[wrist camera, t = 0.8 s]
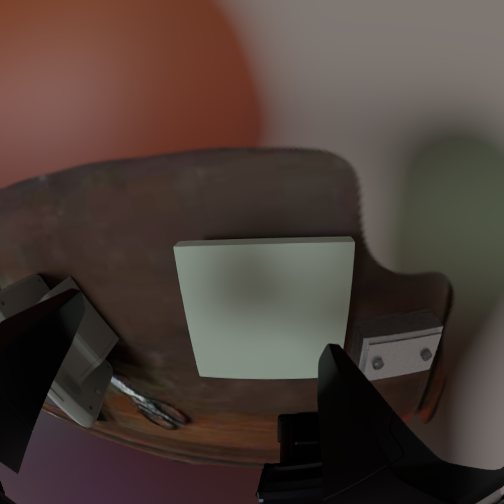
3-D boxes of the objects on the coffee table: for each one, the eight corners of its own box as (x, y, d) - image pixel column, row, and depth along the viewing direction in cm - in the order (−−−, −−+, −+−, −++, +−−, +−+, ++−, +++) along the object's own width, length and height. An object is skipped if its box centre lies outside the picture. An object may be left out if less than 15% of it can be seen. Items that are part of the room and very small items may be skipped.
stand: (332, 347, 25) (338, 376, 22) (208, 348, 26) (199, 376, 23) (342, 225, 21) (355, 241, 17) (190, 230, 22) (173, 246, 19)
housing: (418, 346, 25) (433, 373, 21) (349, 356, 26) (358, 387, 22) (428, 307, 23) (447, 332, 19) (355, 316, 24) (366, 346, 20)
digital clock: (29, 269, 26) (-29, 311, 16) (67, 245, 24) (-5, 291, 14) (95, 374, 31) (58, 429, 21) (142, 368, 29) (105, 437, 19)
